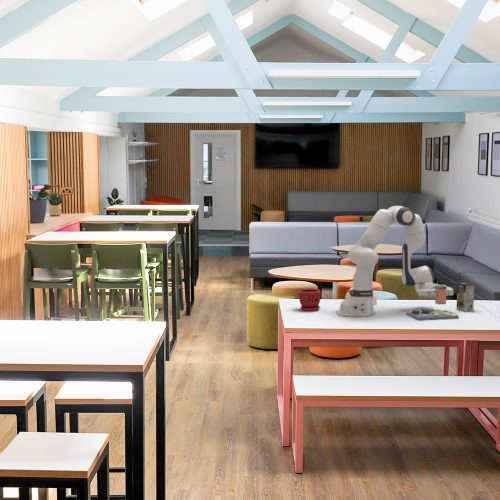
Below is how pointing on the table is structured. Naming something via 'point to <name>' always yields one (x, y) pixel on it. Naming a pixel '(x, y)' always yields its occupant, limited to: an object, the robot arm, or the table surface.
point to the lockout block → (440, 295)
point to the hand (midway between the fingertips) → (441, 294)
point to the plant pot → (309, 299)
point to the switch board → (432, 315)
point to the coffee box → (465, 296)
